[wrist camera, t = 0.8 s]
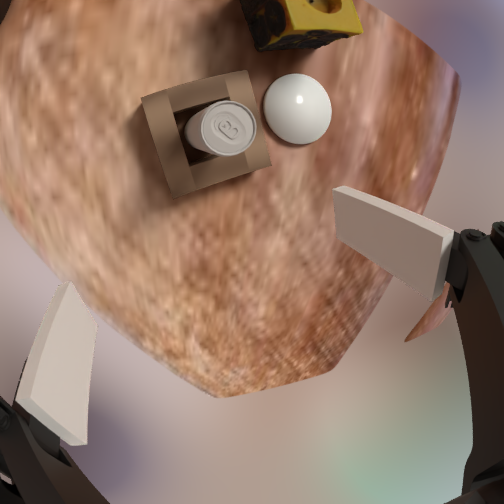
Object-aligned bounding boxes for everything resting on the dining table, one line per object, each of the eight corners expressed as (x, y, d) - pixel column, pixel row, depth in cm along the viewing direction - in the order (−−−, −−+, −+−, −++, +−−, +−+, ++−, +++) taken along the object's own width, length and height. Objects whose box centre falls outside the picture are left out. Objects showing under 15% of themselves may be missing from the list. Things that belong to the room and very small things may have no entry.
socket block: (142, 102, 26) (140, 97, 23) (238, 75, 28) (247, 69, 25) (171, 193, 32) (173, 199, 29) (260, 162, 34) (271, 165, 31)
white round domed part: (254, 79, 29) (257, 78, 28) (319, 71, 31) (323, 71, 30) (273, 151, 34) (275, 151, 33) (333, 136, 36) (337, 136, 35)
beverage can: (202, 104, 28) (226, 87, 18) (231, 128, 31) (269, 126, 21) (175, 134, 29) (186, 132, 19) (205, 158, 31) (231, 169, 21)
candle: (236, -6, 23) (264, -42, 14) (301, -7, 24) (340, -32, 16) (255, 53, 28) (290, 30, 19) (319, 49, 29) (365, 33, 21)
